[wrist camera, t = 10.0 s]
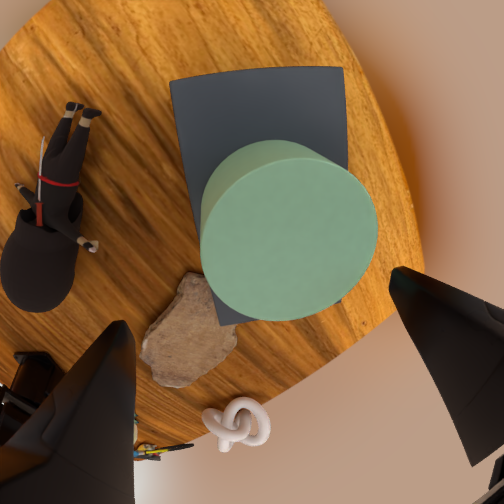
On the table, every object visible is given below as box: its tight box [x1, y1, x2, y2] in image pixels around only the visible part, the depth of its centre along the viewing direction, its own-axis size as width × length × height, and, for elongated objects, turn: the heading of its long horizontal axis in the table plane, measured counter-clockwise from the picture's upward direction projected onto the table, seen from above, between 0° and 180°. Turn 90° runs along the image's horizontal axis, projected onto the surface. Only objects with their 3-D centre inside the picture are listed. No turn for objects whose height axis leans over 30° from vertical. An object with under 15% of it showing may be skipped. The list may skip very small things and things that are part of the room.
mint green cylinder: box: [200, 140, 378, 321], centre depth 11 cm, size 6×6×4 cm
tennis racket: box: [138, 444, 194, 455], centre depth 34 cm, size 12×1×5 cm
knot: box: [202, 397, 271, 452], centre depth 30 cm, size 8×8×6 cm
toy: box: [0, 102, 102, 313], centre depth 15 cm, size 11×6×15 cm
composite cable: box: [134, 444, 161, 461], centre depth 38 cm, size 10×5×2 cm, turn 121°
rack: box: [169, 66, 348, 326], centre depth 16 cm, size 7×12×8 cm, turn 6°
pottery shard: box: [139, 272, 237, 388], centre depth 25 cm, size 8×3×15 cm
